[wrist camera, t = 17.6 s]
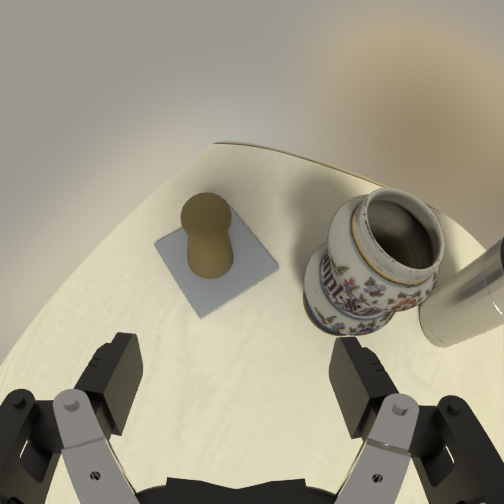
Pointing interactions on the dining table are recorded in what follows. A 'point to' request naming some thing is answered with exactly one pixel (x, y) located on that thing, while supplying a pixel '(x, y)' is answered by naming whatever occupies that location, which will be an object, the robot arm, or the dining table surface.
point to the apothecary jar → (373, 263)
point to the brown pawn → (208, 235)
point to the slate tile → (227, 286)
